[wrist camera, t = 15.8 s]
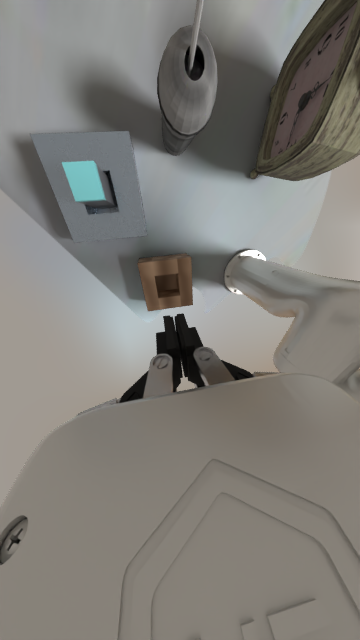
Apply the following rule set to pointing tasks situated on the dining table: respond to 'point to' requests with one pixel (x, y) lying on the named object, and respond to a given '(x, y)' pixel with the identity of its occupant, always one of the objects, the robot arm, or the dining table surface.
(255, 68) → the dining table surface
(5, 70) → the dining table surface
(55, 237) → the dining table surface
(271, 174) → the tabletop clock
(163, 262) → the wooden square hole block
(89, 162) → the plug
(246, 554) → the robot arm
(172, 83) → the beverage cup
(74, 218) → the socket block
